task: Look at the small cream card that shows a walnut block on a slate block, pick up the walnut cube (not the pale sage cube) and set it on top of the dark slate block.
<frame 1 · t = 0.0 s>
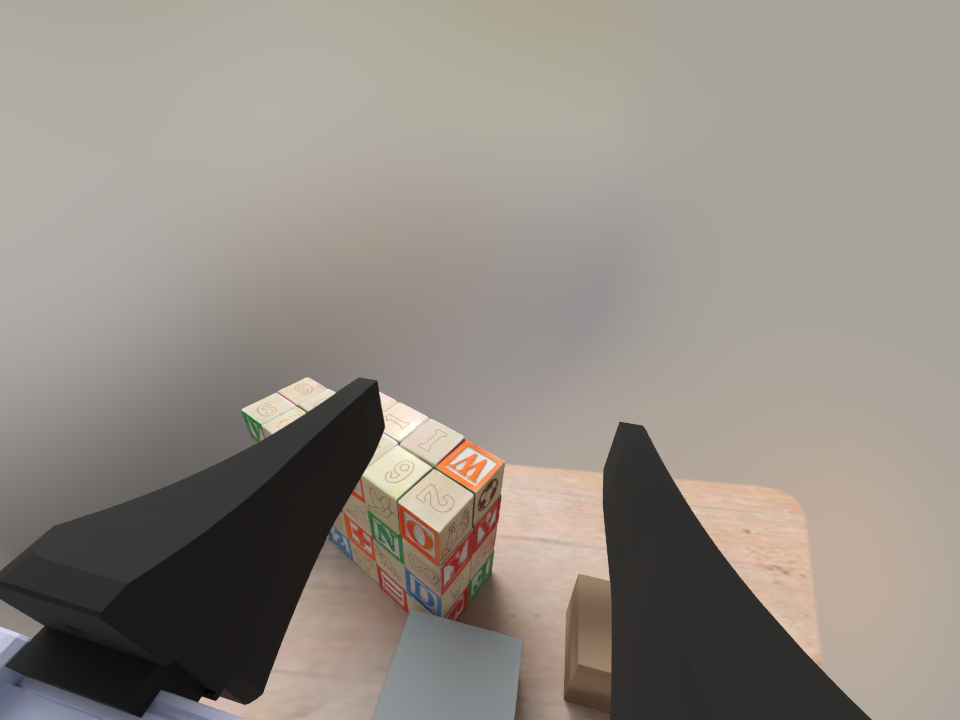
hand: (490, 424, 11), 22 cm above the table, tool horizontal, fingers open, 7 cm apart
walnut block: (603, 663, 25), on the table
stack of blocks: (371, 526, 33), on the table
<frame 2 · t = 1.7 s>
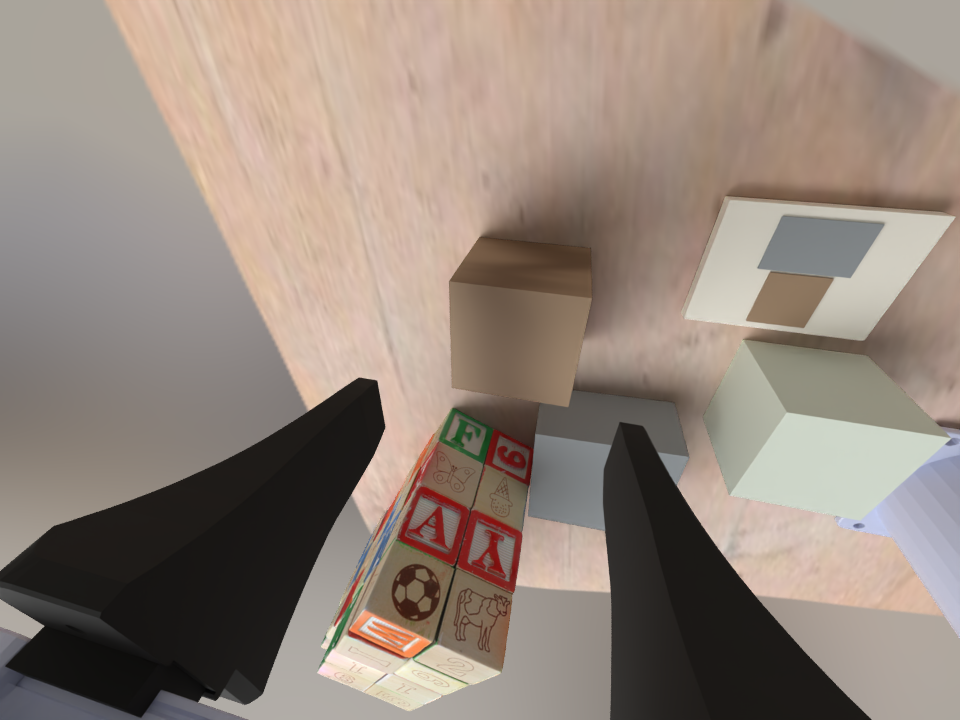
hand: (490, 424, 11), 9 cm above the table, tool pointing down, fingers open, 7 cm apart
slate block: (596, 435, 23), on the table
walnut block: (528, 292, 19), on the table
sage block: (775, 388, 19), on the table
stack of blocks: (437, 498, 31), on the table
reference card: (794, 268, 15), on the table
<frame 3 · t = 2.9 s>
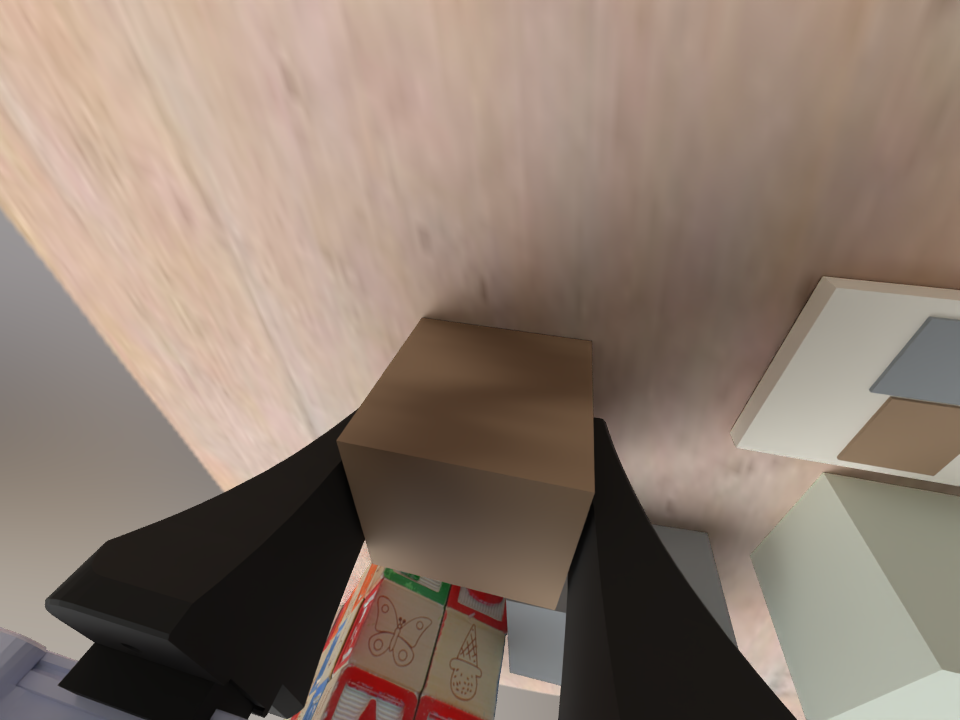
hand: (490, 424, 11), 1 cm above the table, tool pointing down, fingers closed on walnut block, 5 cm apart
slate block: (599, 557, 17), on the table
walnut block: (499, 393, 13), on the table, touching gripper
sage block: (864, 532, 13), on the table
stack of blocks: (401, 598, 25), on the table
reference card: (926, 387, 9), on the table
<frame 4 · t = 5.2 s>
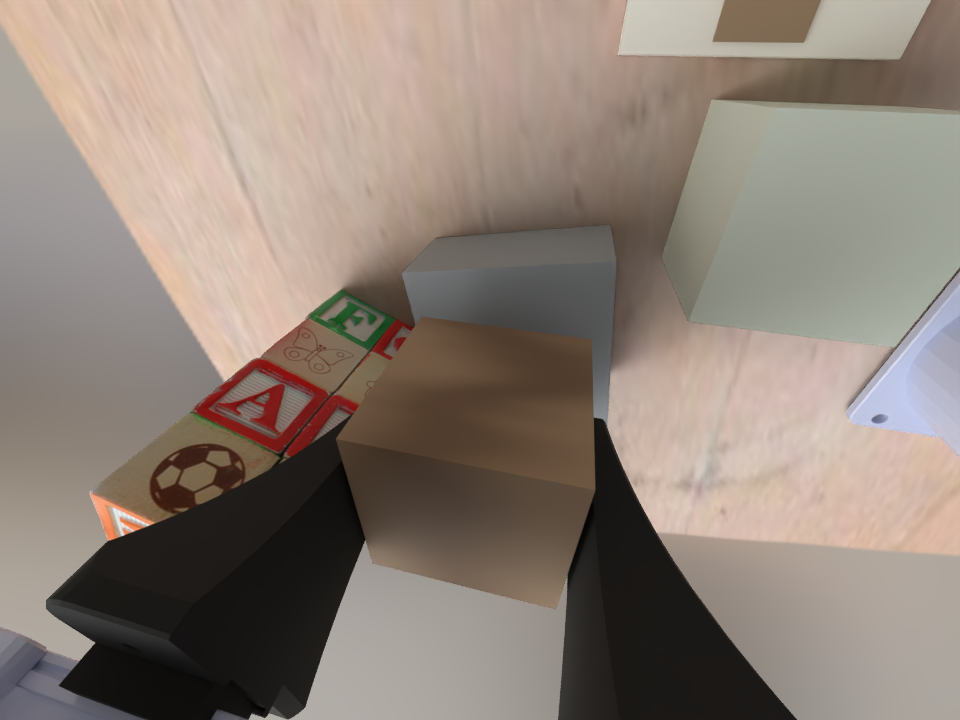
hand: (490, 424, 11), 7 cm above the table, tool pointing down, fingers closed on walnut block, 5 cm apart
slate block: (525, 307, 17), on the table
walnut block: (499, 392, 13), point 6 cm above the table, touching gripper
sage block: (762, 192, 13), on the table
stack of blocks: (351, 430, 26), on the table, touching gripper
when the fingers open (7 cm above the table, at t = 5.8 s): walnut block drops 1 cm, resting on slate block.
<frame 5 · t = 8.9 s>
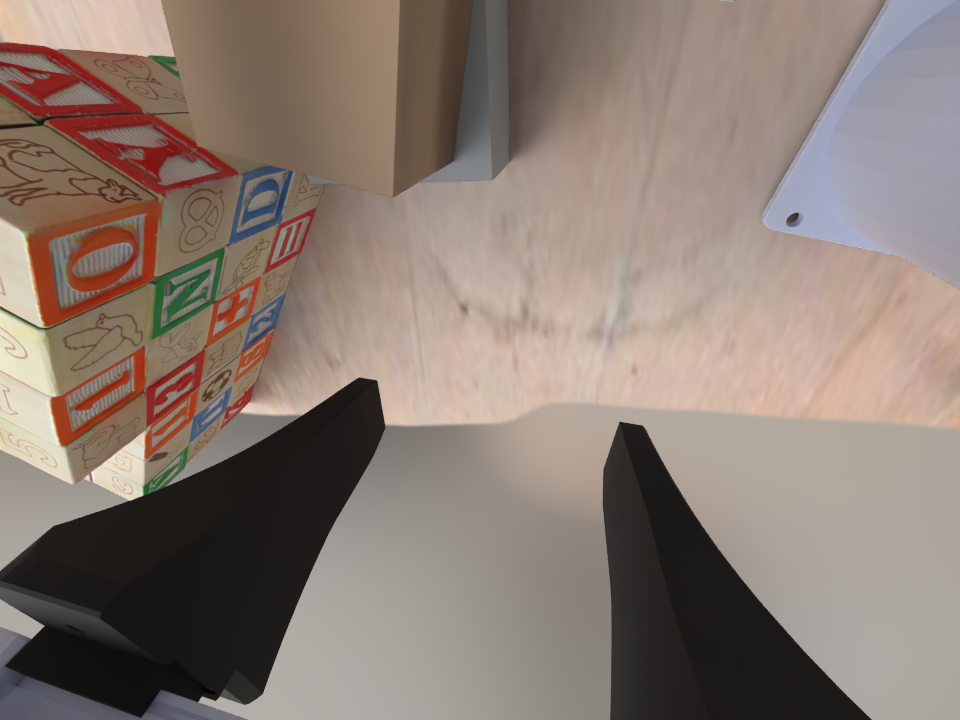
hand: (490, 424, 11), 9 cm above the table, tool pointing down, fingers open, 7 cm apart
slate block: (419, 62, 15), on the table, touching walnut block
walnut block: (385, 50, 11), point 4 cm above the table, touching slate block
stack of blocks: (239, 279, 23), on the table
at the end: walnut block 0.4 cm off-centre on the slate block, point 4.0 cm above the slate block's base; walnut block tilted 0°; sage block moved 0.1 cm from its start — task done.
